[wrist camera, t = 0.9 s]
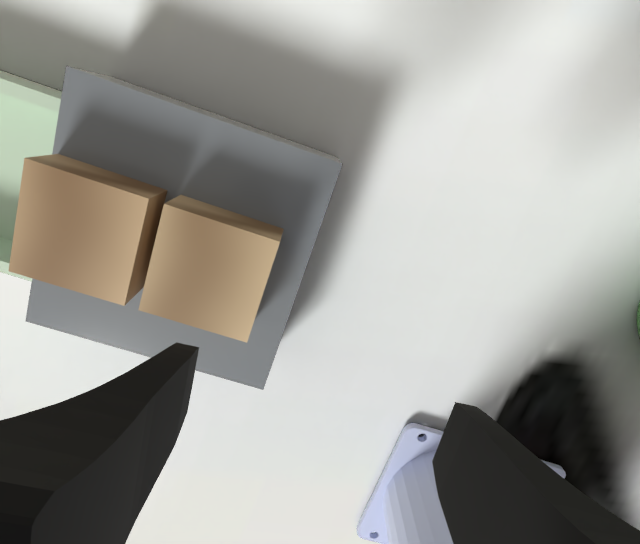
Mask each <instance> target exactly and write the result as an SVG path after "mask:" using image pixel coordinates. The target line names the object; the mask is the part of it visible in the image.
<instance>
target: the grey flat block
mask: <svg viewBox="0 0 640 544" xmlns="http://www.w3.org/2000/svg"><path fill="white" fill-rule="evenodd" d="M53 154H60V155H63V156H66V157H69V158H72V159H75V160H78V161H81V162H84V163H87V164H90V165H93V166H96V167H99V168H102V169H105V170H108V171H111V172H114V173H117V174H120V175H123V176H126V177H129V178H132V179H135V180H138V181H141V182H144V183H147V184H150V185H153V186H156V187H159V188H162V189H165V190H168V191H167V195H166V199H165V203H166V202H168V201H170V200H172V199H174V198H176V197H177V196H179V195H183V196H186V197H189V198H192V199H195V200H198V201H201V202H204V203H207V204H210V205H213V206H216V207H220V208H223V209H226V210H229V211H232V212H235V213H238V214H241V215H244V216H247V217H250V218H253V219H256V220H259V221H262V222H265V223H268V224H271V225H274V226H277V227H280V228H283V229H284V230H283V233H282V237H281V240H280V244H279V247H278V250H277V253H276V256H275V259H274V262H273V265H272V268H271V271H270V274H269V277H268V280H267V283H266V286H265V289H264V292H263V296H262V299H261V302H260V305H259V308H258V311H257V314H256V317H255V320H254V323H253V326H252V329H251V332H250V335H249V338H248V341H247V343H246V342H243V341H240V340H236V339H233V338H230V337H226V336H223V335H220V334H216V333H213V332H210V331H206V330H203V329H200V328H196V327H193V326H190V325H186V324H183V323H180V322H176V321H173V320H170V319H166V318H163V317H160V316H156V315H153V314H150V313H146V312H143V311H140V310H138V309H139V305H140V301H141V297H142V293H143V289H144V287H143V288H142V289H141V290H140V291H139V292H138V293H137V294H136V295H135V296H134V297H133V298H132V299H131V300H130V301H129V302H128V303H127V304H126V305H125V306H123V305H120V304H116V303H113V302H110V301H106V300H103V299H100V298H96V297H93V296H90V295H86V294H83V293H80V292H76V291H73V290H69V289H66V288H63V287H59V286H56V285H53V284H49V283H46V282H43V281H39V280H36V279H33V278H32V284H31V290H30V297H29V303H28V309H27V316H26V321H27V322H30V323H34V324H37V325H41V326H44V327H47V328H51V329H54V330H58V331H61V332H65V333H68V334H72V335H75V336H79V337H82V338H86V339H89V340H92V341H96V342H99V343H103V344H106V345H110V346H113V347H117V348H120V349H124V350H127V351H131V352H134V353H138V354H141V355H144V356H148V357H151V358H152V357H153V356H155V355H157V354H158V353H160V352H161V351H163V350H165V349H166V348H168V347H169V346H171V345H173V344H175V343H176V342H177V343H182V344H186V345H191V346H196V347H199V351H198V357H197V362H196V367H195V370H196V371H200V372H203V373H207V374H210V375H214V376H217V377H221V378H224V379H228V380H231V381H235V382H238V383H241V384H245V385H248V386H252V387H255V388H259V389H262V390H263V389H264V386H265V383H266V380H267V377H268V375H269V372H270V369H271V366H272V363H273V360H274V358H275V355H276V352H277V349H278V346H279V343H280V340H281V338H282V335H283V332H284V329H285V326H286V323H287V321H288V318H289V315H290V312H291V309H292V306H293V304H294V301H295V298H296V295H297V292H298V289H299V287H300V284H301V281H302V278H303V275H304V272H305V270H306V267H307V264H308V261H309V258H310V255H311V253H312V250H313V247H314V244H315V241H316V238H317V235H318V233H319V230H320V227H321V224H322V221H323V218H324V216H325V213H326V210H327V207H328V204H329V201H330V199H331V196H332V193H333V190H334V187H335V184H336V182H337V179H338V176H339V173H340V170H341V167H342V165H343V164H342V162H341V161H340V160H339V158H338V157H336V156H333V155H330V154H327V153H325V152H322V151H319V150H316V149H313V148H311V147H308V146H305V145H302V144H299V143H297V142H294V141H291V140H288V139H285V138H283V137H280V136H277V135H274V134H271V133H269V132H266V131H263V130H260V129H257V128H255V127H252V126H249V125H246V124H243V123H241V122H238V121H235V120H232V119H229V118H226V117H224V116H221V115H218V114H215V113H212V112H210V111H207V110H204V109H201V108H198V107H196V106H193V105H190V104H187V103H184V102H182V101H179V100H176V99H173V98H170V97H168V96H165V95H162V94H159V93H156V92H154V91H151V90H148V89H145V88H142V87H140V86H137V85H134V84H131V83H128V82H126V81H123V80H120V79H117V78H114V77H112V76H108V75H104V74H99V73H95V72H91V71H87V70H82V69H78V68H74V67H69V66H66V71H65V77H64V83H63V89H62V96H61V102H60V108H59V115H58V121H57V127H56V133H55V140H54V146H53V152H52V155H53Z"/></svg>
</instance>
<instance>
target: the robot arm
mask: <svg viewBox="0 0 640 544" xmlns="http://www.w3.org/2000/svg"><path fill="white" fill-rule="evenodd" d="M198 351H199V347H196V346H191V345H186V344H182V343H177V342H176V343H175V344H173V345H171V346H169V347H168V348H166V349H165V350H163V351H161V352H160V353H158V354H157V355H155V356H153V357H152V358H150V359H148V360H147V361H145V362H144V363H142V364H140V365H138V366H137V367H135V368H133V369H132V370H130V371H128V372H126V373H125V374H123V375H121V376H119V377H117V378H115V379H113V380H111V381H109V382H107V383H105V384H103V385H101V386H99V387H97V388H95V389H92V390H90V391H88V392H86V393H83V394H81V395H78V396H76V397H73V398H71V399H68V400H65V401H63V402H60V403H57V404H55V405H51V406H48V407H45V408H42V409H38V410H35V411H32V412H29V413H26V414H22V415H19V416H16V417H12V418H8V419H4V420H0V544H125V543H126V540H127V538H128V536H129V533H130V531H131V529H132V527H133V525H134V523H135V521H136V519H137V517H138V515H139V513H140V511H141V509H142V507H143V505H144V503H145V501H146V500H147V498H148V496H149V494H150V492H151V490H152V488H153V486H154V484H155V482H156V480H157V478H158V477H159V475H160V473H161V471H162V469H163V467H164V465H165V463H166V461H167V459H168V457H169V455H170V453H171V451H172V449H173V447H174V445H175V443H176V440H177V438H178V435H179V433H180V430H181V427H182V425H183V422H184V419H185V416H186V414H187V410H188V405H189V399H190V394H191V389H192V383H193V378H194V373H195V367H196V362H197V357H198ZM419 434H425V435H424V436H422V437H418V435H419ZM565 476H566V473H565V471H564V470H563V468H562V467H561V466H559V465H557V464H553V463H550V462H547V461H543V460H540V459H539V458H538V457H537V456H535V455H534V454H533V453H532V452H531V451H530V450H528V449H527V448H526V447H525V446H524V445H523V444H521V443H520V442H519V441H518V440H517V439H516V438H514V437H513V436H512V435H511V434H510V433H509V432H507V431H506V430H505V429H504V428H503V427H502V426H500V425H499V424H498V423H497V422H496V421H494V420H493V419H492V418H491V417H490V416H488V415H487V414H486V413H484V412H483V411H482V410H480V409H479V408H477V407H475V406H470V405H466V404H461V403H456V402H455V405H454V407H453V410H452V412H451V415H450V417H449V420H448V422H447V425H446V428H445V430H444V431H440V430H437V429H433V428H430V427H427V426H423V425H420V424H416V423H410V424H407V425H406V426H405V427H404V428H403V430H402V432H401V435H400V437H399V439H398V441H397V443H396V445H395V447H394V449H393V451H392V453H391V456H390V458H389V460H388V462H387V464H386V466H385V468H384V470H383V472H382V475H381V477H380V479H379V481H378V483H377V485H376V487H375V489H374V491H373V493H372V496H371V498H370V500H369V502H368V504H367V506H366V508H365V510H364V512H363V514H362V517H361V519H360V521H359V523H358V525H357V534H358V536H359V537H360V538H362V539H366V540H370V541H374V542H378V543H381V544H640V531H639V530H638V529H636V528H634V527H633V526H631V525H629V524H628V523H626V522H625V521H623V520H622V519H620V518H618V517H617V516H615V515H614V514H612V513H611V512H609V511H608V510H607V509H605V508H604V507H602V506H601V505H599V504H598V503H596V502H595V501H594V500H592V499H591V498H589V497H588V496H586V495H585V494H584V493H582V492H581V491H580V490H578V489H577V488H575V487H574V486H573V485H572V484H570V483H569V482H568V481H566V480H565ZM371 532H375V533H371Z"/></svg>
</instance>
